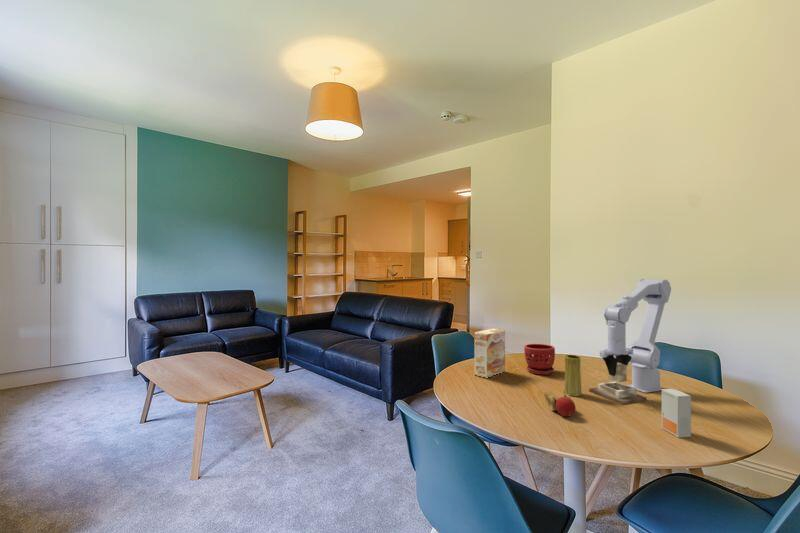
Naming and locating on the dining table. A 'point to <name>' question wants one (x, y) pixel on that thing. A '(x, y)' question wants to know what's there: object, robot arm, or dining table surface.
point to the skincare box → (676, 412)
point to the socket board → (618, 392)
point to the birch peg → (620, 373)
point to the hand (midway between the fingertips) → (616, 374)
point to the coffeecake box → (489, 352)
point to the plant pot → (540, 358)
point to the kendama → (560, 404)
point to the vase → (572, 375)
